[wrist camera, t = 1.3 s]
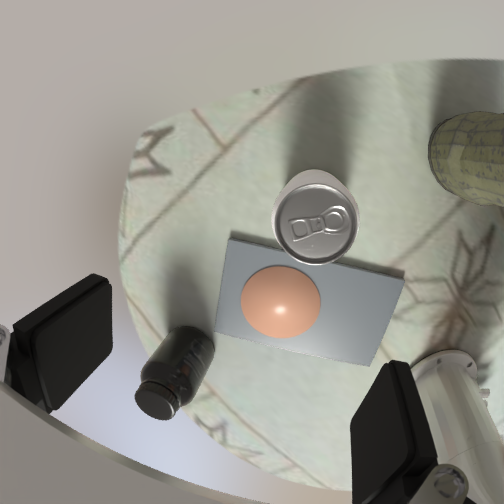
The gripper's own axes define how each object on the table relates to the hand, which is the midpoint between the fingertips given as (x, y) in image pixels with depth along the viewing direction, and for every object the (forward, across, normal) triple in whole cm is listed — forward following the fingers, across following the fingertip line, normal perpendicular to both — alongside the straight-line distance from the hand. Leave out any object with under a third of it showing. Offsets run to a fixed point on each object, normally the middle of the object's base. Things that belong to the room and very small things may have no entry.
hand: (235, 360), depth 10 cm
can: (+25, -2, -2) cm, 25 cm away
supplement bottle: (+25, +8, +20) cm, 33 cm away
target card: (+25, -4, +10) cm, 27 cm away
